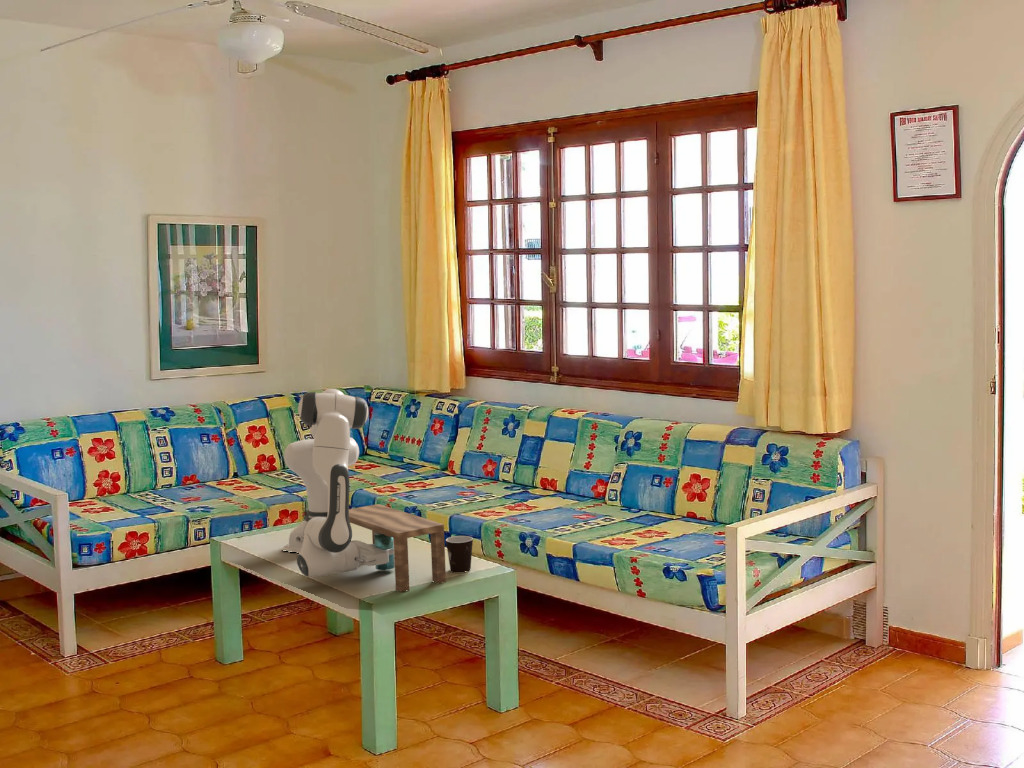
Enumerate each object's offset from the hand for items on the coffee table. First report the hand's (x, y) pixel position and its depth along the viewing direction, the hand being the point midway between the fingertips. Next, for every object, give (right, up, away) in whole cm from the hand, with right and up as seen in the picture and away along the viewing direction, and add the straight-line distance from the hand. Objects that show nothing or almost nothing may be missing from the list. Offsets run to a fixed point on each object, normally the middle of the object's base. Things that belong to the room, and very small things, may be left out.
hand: (386, 548), depth 342 cm
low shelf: (+1, -8, -2) cm, 8 cm away
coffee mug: (+23, -7, -2) cm, 25 cm away
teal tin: (-1, -6, 0) cm, 6 cm away
